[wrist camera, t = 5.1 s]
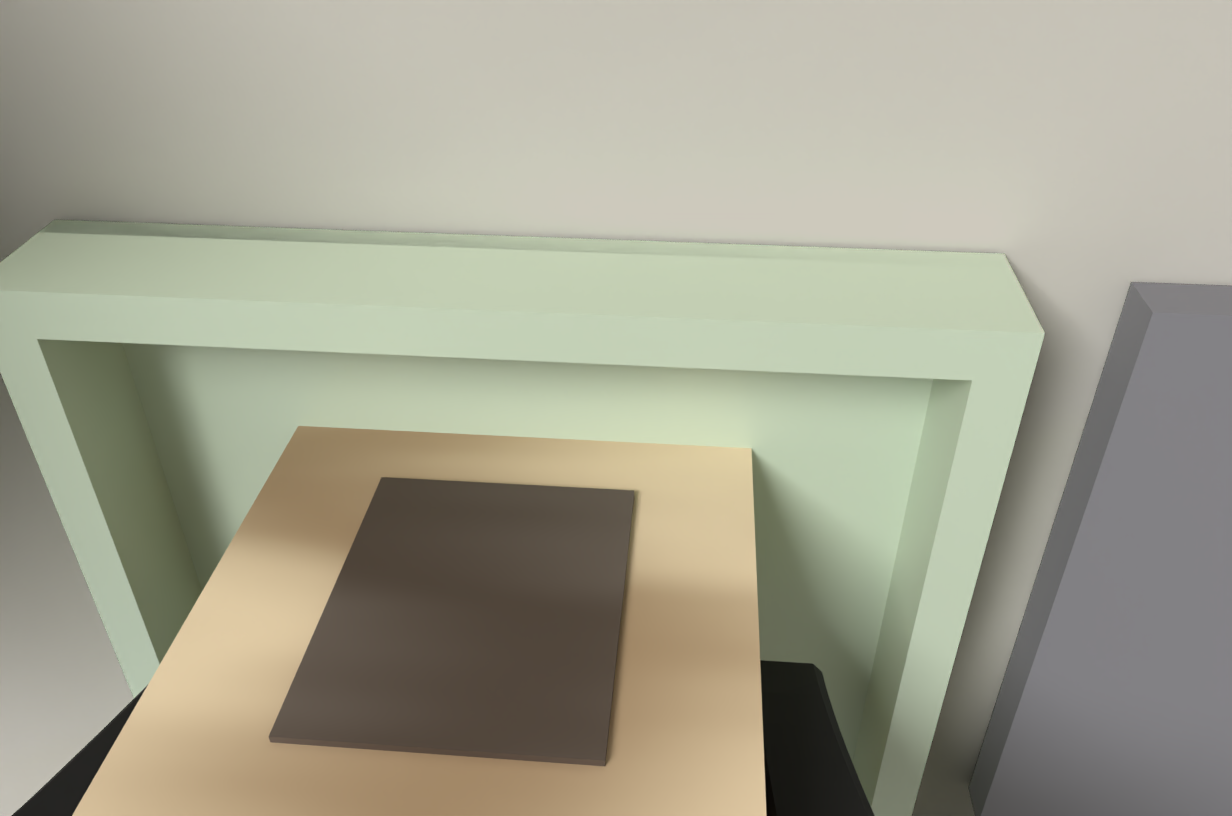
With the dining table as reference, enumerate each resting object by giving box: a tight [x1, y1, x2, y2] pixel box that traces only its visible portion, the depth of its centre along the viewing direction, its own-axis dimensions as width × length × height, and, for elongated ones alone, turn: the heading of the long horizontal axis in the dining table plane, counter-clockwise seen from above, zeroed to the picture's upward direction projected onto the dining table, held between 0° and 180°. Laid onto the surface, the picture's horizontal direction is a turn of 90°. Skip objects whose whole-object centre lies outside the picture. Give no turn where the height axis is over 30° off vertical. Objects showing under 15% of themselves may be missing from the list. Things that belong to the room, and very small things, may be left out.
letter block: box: [72, 426, 767, 816], centre depth 11 cm, size 5×5×5 cm
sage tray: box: [0, 220, 1045, 816], centre depth 12 cm, size 10×10×2 cm
